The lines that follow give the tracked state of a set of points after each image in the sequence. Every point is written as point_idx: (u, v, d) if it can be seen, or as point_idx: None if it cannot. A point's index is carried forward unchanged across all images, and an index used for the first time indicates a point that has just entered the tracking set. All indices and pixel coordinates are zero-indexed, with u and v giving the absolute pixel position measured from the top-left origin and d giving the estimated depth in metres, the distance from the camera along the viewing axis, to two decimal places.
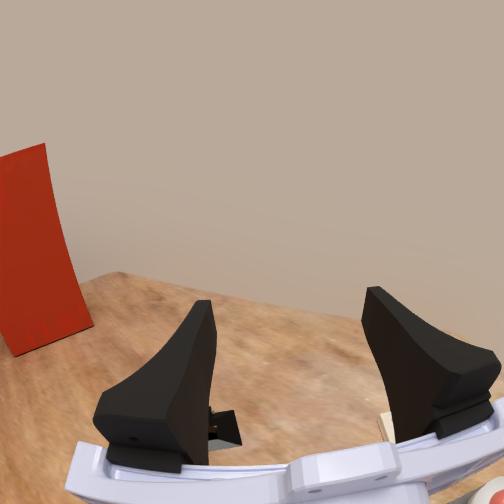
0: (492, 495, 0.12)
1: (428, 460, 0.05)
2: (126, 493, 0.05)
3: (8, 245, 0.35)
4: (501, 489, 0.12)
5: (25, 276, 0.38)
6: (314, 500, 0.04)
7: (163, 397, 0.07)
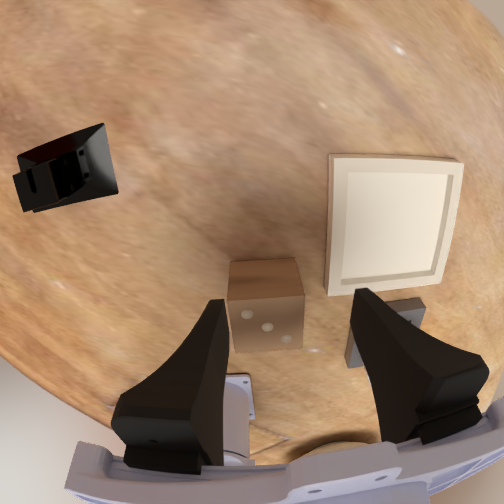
0: None
1: (428, 460, 0.05)
2: (126, 493, 0.05)
3: None
4: None
5: None
6: (314, 500, 0.04)
7: (185, 398, 0.07)
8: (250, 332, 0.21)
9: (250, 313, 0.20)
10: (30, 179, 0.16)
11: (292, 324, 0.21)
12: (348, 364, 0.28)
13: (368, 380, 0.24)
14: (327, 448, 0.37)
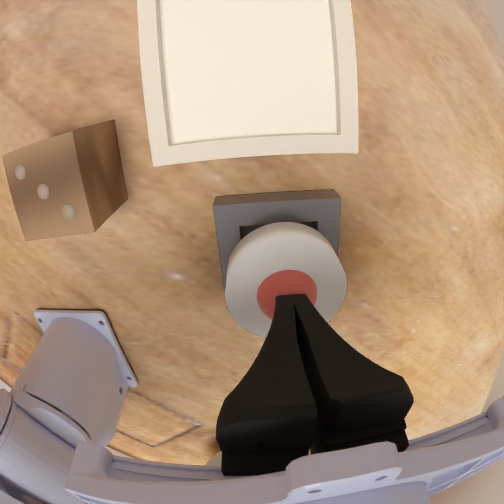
0: (273, 272, 0.14)
1: (428, 460, 0.05)
2: (126, 493, 0.05)
3: None
4: (297, 271, 0.14)
5: None
6: (314, 500, 0.04)
7: (301, 393, 0.07)
8: (29, 203, 0.12)
9: (24, 171, 0.12)
10: None
11: (70, 185, 0.12)
12: None
13: None
14: None
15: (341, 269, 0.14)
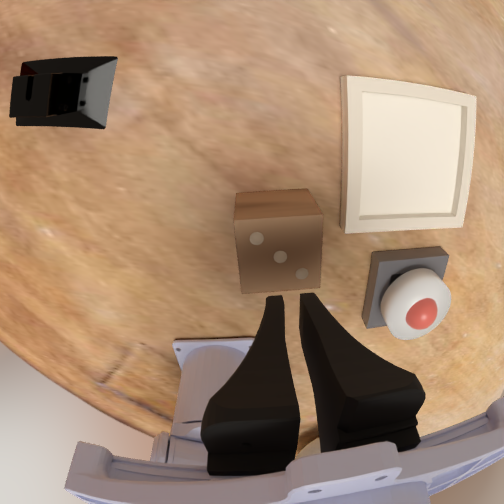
0: (419, 300, 0.21)
1: (428, 460, 0.05)
2: (126, 493, 0.05)
3: None
4: (431, 299, 0.21)
5: None
6: (314, 500, 0.04)
7: (285, 395, 0.07)
8: (259, 264, 0.18)
9: (260, 238, 0.17)
10: (29, 86, 0.13)
11: (309, 254, 0.18)
12: (367, 323, 0.25)
13: (387, 325, 0.22)
14: None
15: (450, 296, 0.21)
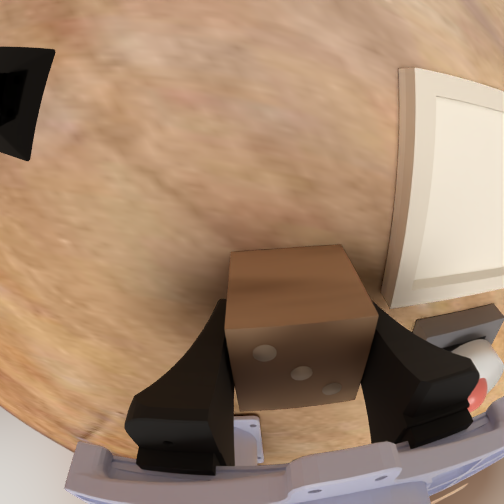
0: None
1: (428, 460, 0.05)
2: (126, 493, 0.05)
3: None
4: (483, 379, 0.13)
5: None
6: (314, 500, 0.04)
7: (201, 398, 0.07)
8: (268, 382, 0.11)
9: (270, 352, 0.10)
10: None
11: (347, 367, 0.10)
12: None
13: None
14: None
15: (502, 370, 0.13)
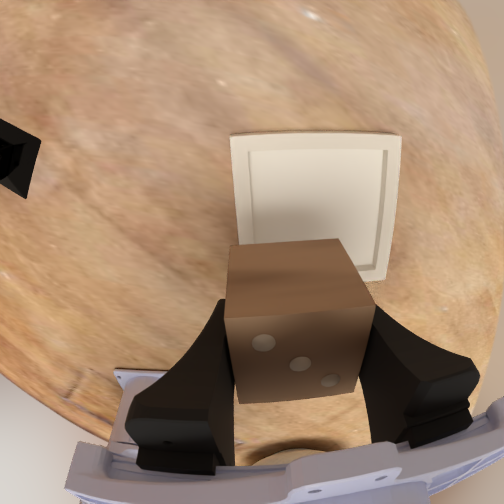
0: None
1: (428, 460, 0.05)
2: (126, 493, 0.05)
3: None
4: None
5: None
6: (314, 500, 0.04)
7: (201, 398, 0.07)
8: (267, 373, 0.11)
9: (269, 341, 0.10)
10: None
11: (345, 358, 0.11)
12: None
13: None
14: (282, 455, 0.35)
15: None
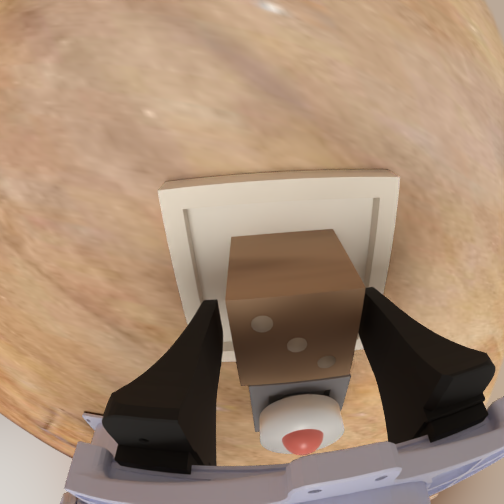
0: (294, 431, 0.18)
1: (428, 460, 0.05)
2: (126, 493, 0.05)
3: None
4: (310, 430, 0.18)
5: None
6: (314, 500, 0.04)
7: (174, 397, 0.07)
8: (266, 354, 0.12)
9: (267, 323, 0.11)
10: None
11: (339, 339, 0.12)
12: (255, 427, 0.22)
13: None
14: None
15: (341, 425, 0.18)
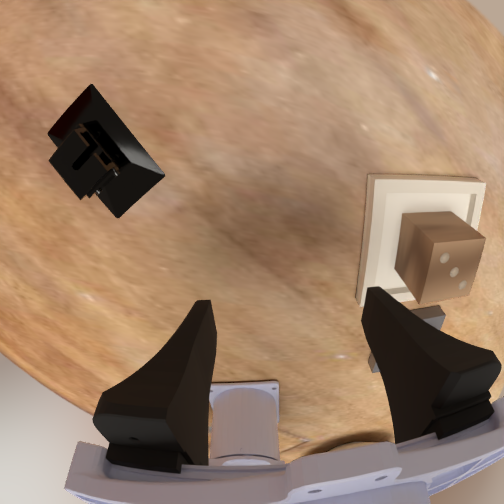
0: None
1: (428, 460, 0.05)
2: (126, 493, 0.05)
3: None
4: None
5: None
6: (314, 500, 0.04)
7: (163, 397, 0.07)
8: (439, 279, 0.18)
9: (446, 257, 0.17)
10: (82, 154, 0.16)
11: (471, 269, 0.18)
12: (372, 368, 0.29)
13: None
14: (345, 448, 0.37)
15: None
